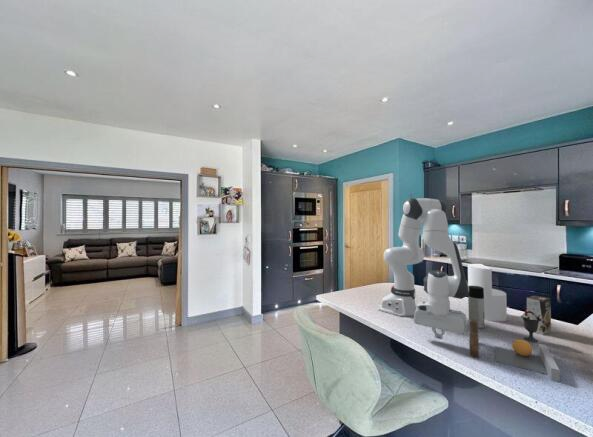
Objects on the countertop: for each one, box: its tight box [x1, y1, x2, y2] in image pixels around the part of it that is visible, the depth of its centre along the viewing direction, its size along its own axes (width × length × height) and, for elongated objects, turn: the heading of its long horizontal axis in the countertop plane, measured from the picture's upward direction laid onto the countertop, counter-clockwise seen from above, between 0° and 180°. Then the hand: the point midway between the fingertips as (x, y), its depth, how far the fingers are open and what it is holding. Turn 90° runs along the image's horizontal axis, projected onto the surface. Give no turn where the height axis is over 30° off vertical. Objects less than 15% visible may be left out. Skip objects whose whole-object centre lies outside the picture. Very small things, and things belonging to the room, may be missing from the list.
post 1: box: [469, 321, 479, 334], centre depth 111 cm, size 3×3×9 cm
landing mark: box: [493, 345, 548, 375], centre depth 97 cm, size 14×14×1 cm
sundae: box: [520, 305, 541, 344], centre depth 112 cm, size 7×7×15 cm
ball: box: [511, 339, 533, 356], centre depth 100 cm, size 6×6×6 cm
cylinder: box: [467, 263, 508, 322], centre depth 141 cm, size 17×17×28 cm
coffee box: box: [526, 295, 552, 336], centre depth 121 cm, size 9×6×16 cm
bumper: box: [538, 343, 561, 383], centre depth 92 cm, size 2×20×4 cm, turn 144°
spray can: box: [467, 286, 486, 329], centre depth 128 cm, size 7×7×20 cm
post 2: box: [468, 331, 480, 359], centre depth 100 cm, size 3×3×9 cm
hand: (438, 338), depth 112 cm, fingers closed
